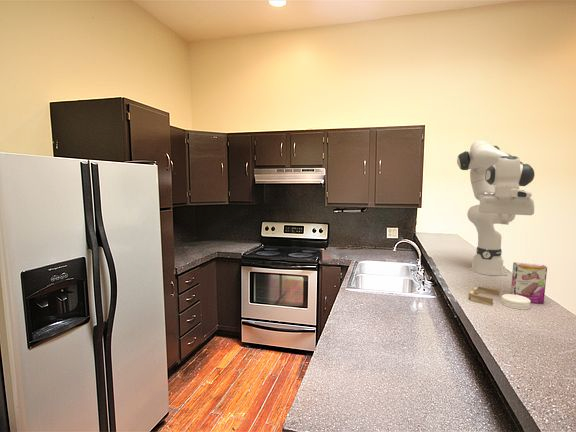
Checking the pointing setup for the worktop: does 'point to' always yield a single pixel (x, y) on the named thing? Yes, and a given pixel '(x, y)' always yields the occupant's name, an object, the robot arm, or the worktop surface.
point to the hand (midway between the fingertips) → (504, 224)
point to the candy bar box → (529, 281)
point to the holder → (482, 298)
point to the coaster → (515, 301)
